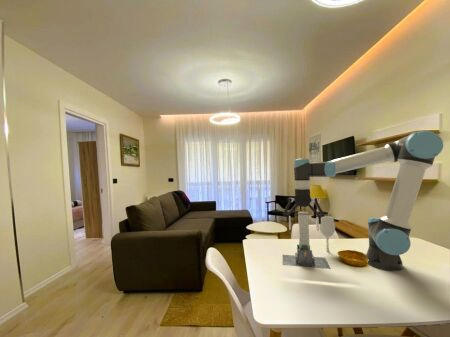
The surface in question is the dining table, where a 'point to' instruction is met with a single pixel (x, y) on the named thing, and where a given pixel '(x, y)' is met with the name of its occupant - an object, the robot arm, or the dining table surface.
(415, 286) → the dining table surface
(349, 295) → the dining table surface
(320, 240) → the dining table surface
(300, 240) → the column
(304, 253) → the stand base
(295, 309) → the dining table surface
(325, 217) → the wineglass
